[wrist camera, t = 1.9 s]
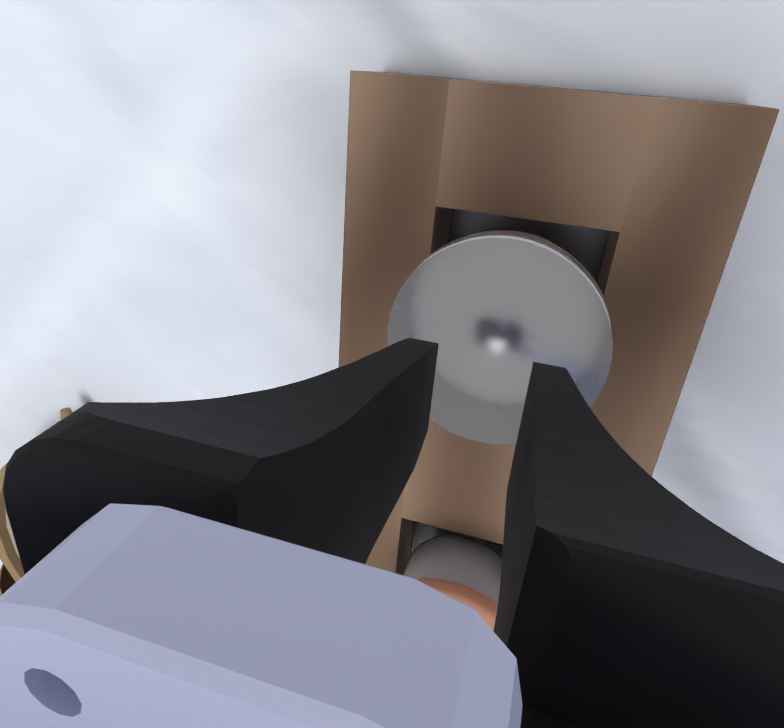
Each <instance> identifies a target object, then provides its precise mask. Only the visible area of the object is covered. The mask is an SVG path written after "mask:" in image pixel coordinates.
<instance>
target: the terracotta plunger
mask: <svg viewBox="0 0 784 728" xmlns="http://www.w3.org/2000/svg"><path fill="white" fill-rule="evenodd" d="M501 567H502V558H501V557H500V556H499V555H498V554H497V553H496V552H495V551H493V550H492V549H491V548H489V547H487V546H486V545H484V544H482V543H480V542H477V541H475V540H472V539H469V538H465V537H460V536H439V537H434V538H431V539H428V540H426V541H424V542H423V543H421V544H420V545H419V546H417V547H416V549H415V550H414V551H413V553H412V554H411V556H410V559H409V561H408V564H407V567H406V570H405V572H404V576H407V577H411V578H414V579H416V580H418V581H420V582H422V583H424V584H426V585H428V586H430V587H432V588H434V589H436V590H438V591H440V592H442V593H444V594H446V595H448V596H450V597H452V598H454V599H456V600H458V601H460V602H462V603H464V604H466V605H468V606H470V607H471V608H473V609H474V610H475V611H476V612H477V613H478V614H479V615H480V616H481V618H482V619H483V620H484V621H485V622H486V623H487V625H488V626H489V627H490V628H491V629H492V630H493V631H494V625H495V619H496V613H497V608H498V600H499V591H500V581H501Z"/></svg>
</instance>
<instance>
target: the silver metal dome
mask: <svg viewBox="0 0 784 728" xmlns="http://www.w3.org/2000/svg"><path fill="white" fill-rule="evenodd" d="M407 338H414V339H419V340H424V341H429V342H434V343H439V346H438V354H437V362H436V370H435V378H434V386H433V394H432V402H431V410H430V418H429V419H431V420H432V421H433V422H435V423H436V424H438V425H439V426H441V427H443V428H444V429H446V430H448V431H450V432H452V433H454V434H457V435H459V436H462V437H464V438H467V439H471V440H474V441H478V442H484V443H489V444H503V445H507V444H516V441H517V437H518V432H519V427H520V422H521V418H522V413H523V408H524V403H525V399H526V394H527V389H528V384H529V380H530V375H531V370H532V365H533V362H538V363H543V364H548V365H554V366H559V367H564V368H566V369H567V370H568V372H569V373H570V375H571V377H572V379H573V380H574V382H575V384H576V386H577V387H578V389H579V391H580V393H581V394H582V396H583V397H584V399H585V401H586V402H587V404H588V405H589V407H591V406H592V404H593V403H594V402H595V400H596V399H597V397H598V396H599V394H600V392H601V390H602V389H603V387H604V385H605V382H606V379H607V377H608V374H609V371H610V366H611V361H612V349H613V341H612V332H611V323H610V315H609V311H608V308H607V304H606V301H605V299H604V296H603V294H602V292H601V289H600V288H599V286H598V285H597V283H596V281H595V280H594V278H593V277H592V275H591V274H590V273H589V272H588V270H587V269H586V268H585V267H584V266H583V265H582V264H581V263H580V262H579V261H578V260H577V259H576V258H575V257H573V256H572V255H571V254H570V253H568V252H567V251H565V250H564V249H562V248H561V247H559V246H557V245H555V244H554V243H552V242H551V241H549V240H547V239H545V238H543V237H541V236H538V235H536V234H533V233H528V232H523V231H504V230H497V231H484V232H479V233H473V234H469V235H466V236H463V237H460V238H457V239H455V240H453V241H451V242H449V243H447V244H445V245H443V246H442V247H440V248H439V249H437V250H436V251H434V252H433V253H432V254H431V255H430V256H428V257H427V258H426V259H425V260H424V261H423V262H422V263H421V264H420V265H419V266H418V267H417V269H416V270H415V271H414V272H413V273H412V274H411V275H410V277H409V278H408V279H407V280H406V281H405V283H404V284H403V286H402V288H401V289H400V291H399V292H398V295H397V297H396V299H395V301H394V303H393V306H392V310H391V313H390V316H389V323H388V337H387V342H388V346H390V345H392V344H394V343H396V342H399V341H401V340H404V339H407Z"/></svg>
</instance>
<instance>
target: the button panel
mask: <svg viewBox="0 0 784 728" xmlns="http://www.w3.org/2000/svg"><path fill="white" fill-rule="evenodd" d="M778 112H779V109H774V108H767V107H760V106H753V105H744V104H733V103H721V102H710V101H699V100H688V99H677V98H666V97H654V96H643V95H632V94H621V93H610V92H599V91H587V90H576V89H565V88H554V87H543V86H532V85H520V84H509V83H498V82H487V81H476V80H465V79H453V78H442V77H431V76H420V75H409V74H398V73H386V72H369V71H350V96H349V121H348V146H347V171H346V196H345V221H344V247H343V272H342V297H341V322H340V347H339V367H342V366H344V365H347V364H350V363H352V362H355V361H357V360H359V359H361V358H363V357H366V356H368V355H370V354H372V353H375V352H377V351H379V350H381V349H383V348H385V347H388V342H387V337H388V323H389V316H390V313H391V310H392V306H393V303H394V301H395V299H396V297H397V295H398V292H399V291H400V289H401V288H402V286H403V284H404V283H405V281H406V280H407V279H408V278H409V277H410V275H411V274H412V273H413V272H414V271H415V270H416V269H417V267H418V266H419V265H420V264H421V263H422V262H423V261H424V260H425V259H426V258H427V257H428V256H430V255H431V254H432V253H433V252H434V251H436V250H437V249H439V248H440V247H442V246H443V245H445V244H447V243H449V237H450V229H451V221H452V212H453V209H458V210H465V211H472V212H480V213H487V214H494V215H501V216H508V217H515V218H522V219H530V220H537V221H544V222H551V223H558V224H565V225H572V226H580V227H587V228H594V229H601V230H608V231H610V233H609V237H608V241H607V245H606V249H605V253H604V257H603V261H602V265H601V269H600V273H599V277H598V281H597V285H598V286H599V288H600V289H601V292H602V294H603V296H604V299H605V301H606V304H607V308H608V311H609V315H610V323H611V332H612V341H613V349H612V361H611V366H610V371H609V374H608V377H607V379H606V382H605V385H604V387H603V389H602V390H601V392H600V394H599V396H598V397H597V399H596V400H595V402H594V403H593V404H592V406H591V407H590V408H591V410H592V411H593V413H594V414H595V416H596V417H597V418H598V420H599V421H600V423H601V424H602V425H603V426H604V428H605V429H606V430H607V431H608V432H609V434H610V435H611V436H612V437H613V438H614V440H615V441H616V442H617V443H618V444H619V445H620V447H621V448H622V449H623V450H624V451H625V452H626V453H627V454H628V455H629V456H630V457H631V458H632V459H633V460H634V461H635V462H636V463H637V464H638V465H640V466H641V467H642V468H643V469H644V470H645V471H646V472H647V473H648V474H649V475H650V476H652V474H653V471H654V468H655V465H656V462H657V459H658V456H659V454H660V451H661V448H662V445H663V442H664V439H665V436H666V433H667V431H668V428H669V425H670V422H671V419H672V416H673V413H674V411H675V408H676V405H677V402H678V399H679V396H680V393H681V390H682V388H683V385H684V382H685V379H686V376H687V373H688V370H689V368H690V365H691V362H692V359H693V356H694V353H695V350H696V347H697V345H698V342H699V339H700V336H701V333H702V330H703V327H704V325H705V322H706V319H707V316H708V313H709V310H710V307H711V304H712V302H713V299H714V296H715V293H716V290H717V287H718V284H719V282H720V279H721V276H722V273H723V270H724V267H725V264H726V261H727V259H728V256H729V253H730V250H731V247H732V244H733V241H734V239H735V236H736V233H737V230H738V227H739V224H740V221H741V218H742V216H743V213H744V210H745V207H746V204H747V201H748V198H749V196H750V193H751V190H752V187H753V184H754V181H755V178H756V175H757V173H758V170H759V167H760V164H761V161H762V158H763V155H764V153H765V150H766V147H767V144H768V141H769V138H770V135H771V132H772V130H773V127H774V124H775V121H776V118H777V115H778ZM515 446H516V444H507V445H503V444H489V443H484V442H478V441H474V440H471V439H467V438H464V437H462V436H459V435H457V434H454V433H452V432H450V431H448V430H446V429H444V428H443V427H441V426H439V425H438V424H436V423H435V422H433V421H432V420H431V419H429V426H428V431H427V434H426V437H425V440H424V443H423V446H422V449H421V452H420V454H419V457H418V460H417V463H416V465H415V468H414V470H413V472H412V474H411V476H410V478H409V480H408V482H407V484H406V486H405V488H404V490H403V491H402V493H401V495H400V497H399V499H398V501H397V503H396V505H395V507H394V509H393V511H392V512H391V514H390V516H389V518H388V520H387V522H386V524H385V526H384V528H383V530H382V531H381V533H380V535H379V537H378V539H377V541H376V543H375V545H374V547H373V549H372V551H371V553H370V555H369V557H368V559H367V561H366V564H365V565H369V566H372V567H376V568H379V569H383V570H386V571H390V572H393V573H397V574H400V575H404V572H405V570H406V567H407V564H408V561H409V559H410V553H411V545H412V537H413V529H414V521H416V522H420V523H423V524H427V525H431V526H435V527H438V528H442V529H446V530H450V531H454V532H457V533H461V534H465V535H469V536H472V537H476V538H480V539H484V540H488V541H491V542H495V543H499V544H503V537H504V523H505V508H506V495H507V487H508V482H509V477H510V471H511V466H512V461H513V456H514V451H515Z"/></svg>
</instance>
